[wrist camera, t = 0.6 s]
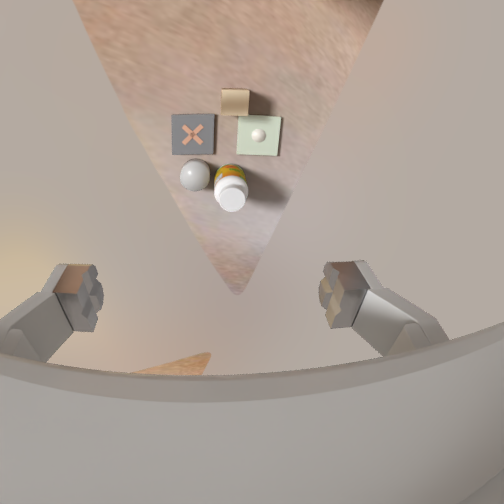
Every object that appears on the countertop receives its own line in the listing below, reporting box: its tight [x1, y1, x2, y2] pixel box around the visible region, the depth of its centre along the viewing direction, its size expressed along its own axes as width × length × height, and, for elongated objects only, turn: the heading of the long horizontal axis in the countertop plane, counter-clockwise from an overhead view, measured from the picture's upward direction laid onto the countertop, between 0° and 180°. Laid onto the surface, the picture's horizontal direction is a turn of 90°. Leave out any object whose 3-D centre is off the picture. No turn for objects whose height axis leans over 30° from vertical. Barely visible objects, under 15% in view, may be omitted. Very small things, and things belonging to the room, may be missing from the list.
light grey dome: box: [180, 159, 210, 191], centre depth 48 cm, size 5×5×3 cm
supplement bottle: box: [214, 164, 248, 212], centre depth 46 cm, size 5×5×10 cm
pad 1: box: [172, 114, 214, 155], centre depth 44 cm, size 7×7×1 cm
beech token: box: [221, 88, 250, 116], centre depth 40 cm, size 4×4×5 cm
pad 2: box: [237, 115, 281, 156], centre depth 46 cm, size 7×7×1 cm
